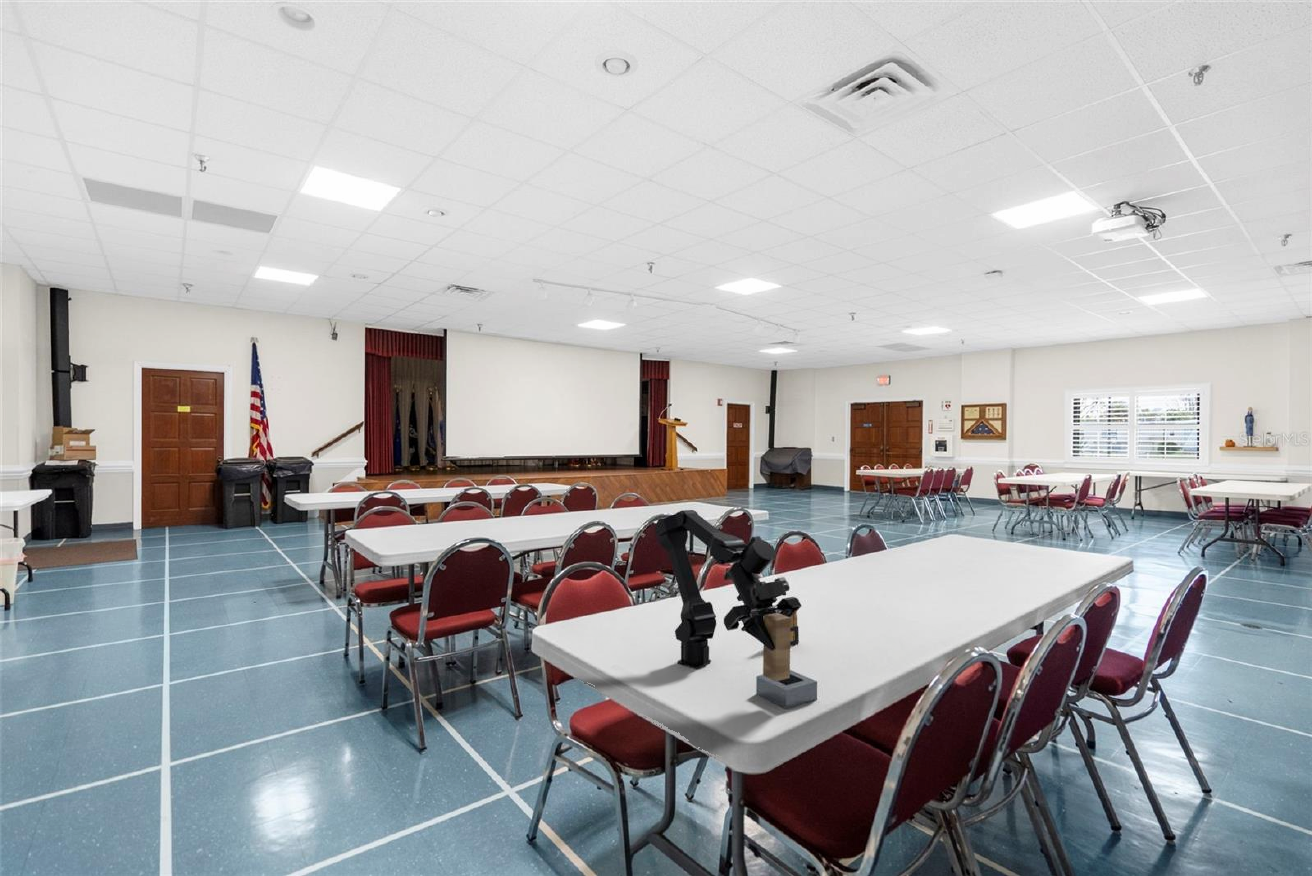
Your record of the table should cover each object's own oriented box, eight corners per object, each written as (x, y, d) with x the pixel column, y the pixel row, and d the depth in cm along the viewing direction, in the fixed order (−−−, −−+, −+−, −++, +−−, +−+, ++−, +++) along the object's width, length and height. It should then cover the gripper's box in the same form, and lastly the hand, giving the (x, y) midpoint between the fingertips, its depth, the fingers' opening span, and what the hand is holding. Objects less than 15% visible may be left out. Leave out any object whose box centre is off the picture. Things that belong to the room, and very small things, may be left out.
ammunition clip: (794, 642, 176) (794, 600, 177) (798, 643, 175) (799, 601, 175) (766, 648, 171) (767, 605, 171) (771, 650, 169) (771, 606, 169)
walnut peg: (763, 675, 134) (763, 615, 134) (776, 671, 136) (777, 613, 136) (775, 681, 130) (776, 620, 131) (789, 678, 133) (790, 617, 133)
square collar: (756, 694, 139) (756, 676, 139) (786, 685, 144) (786, 668, 144) (786, 709, 131) (786, 690, 131) (817, 699, 136) (817, 681, 136)
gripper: (732, 569, 132) (766, 635, 122) (796, 561, 142) (832, 622, 132) (710, 598, 138) (740, 662, 129) (772, 588, 148) (805, 648, 139)
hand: (781, 648), depth 132 cm, fingers closed on walnut peg, 4 cm apart
